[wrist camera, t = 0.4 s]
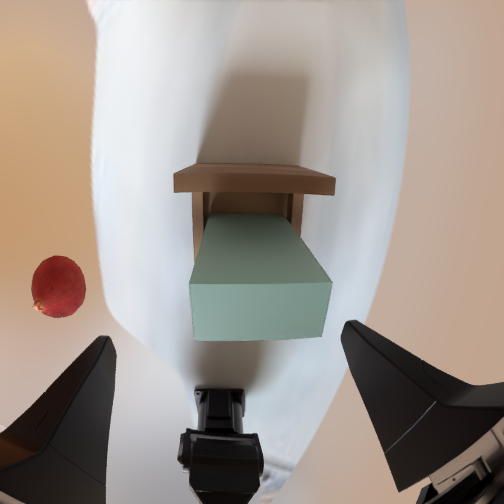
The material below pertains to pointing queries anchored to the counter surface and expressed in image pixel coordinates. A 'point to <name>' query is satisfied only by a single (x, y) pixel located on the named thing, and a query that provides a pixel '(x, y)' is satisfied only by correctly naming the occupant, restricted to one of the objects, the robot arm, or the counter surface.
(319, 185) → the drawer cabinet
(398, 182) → the counter surface
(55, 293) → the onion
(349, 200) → the counter surface
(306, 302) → the green rectangular block
